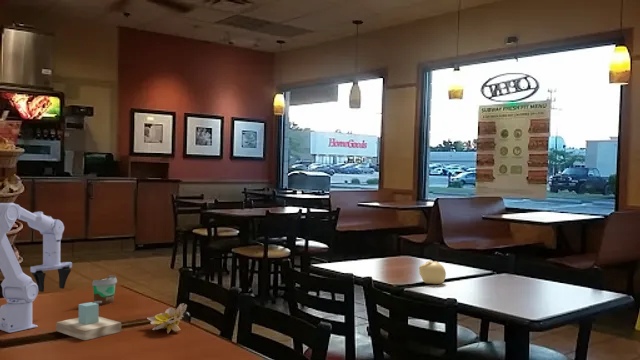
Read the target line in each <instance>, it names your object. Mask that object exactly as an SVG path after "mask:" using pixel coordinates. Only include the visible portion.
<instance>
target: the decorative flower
mask: <svg viewBox="0 0 640 360" xmlns="http://www.w3.org/2000/svg"><path fill="white" fill-rule="evenodd" d="M187 307H188V305H187V304H186V303H180V304H179V305H178V306H177V308H174V307H169V308H167V309H166V310H165V311H164V312H161V313H158V314H156V315H154V316H150V317H147V318H146V319H147V320H149V321H150V324H151V325H154V327H153V328H152V331H155V330H160V329H166V333H167V334H169V333H170V332H171V331H173V332H178V331H181V330H182V329H181V328H180V327H179V323H180V322H181V320H183V318H184V313H185V312H186V310H187Z"/></svg>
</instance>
